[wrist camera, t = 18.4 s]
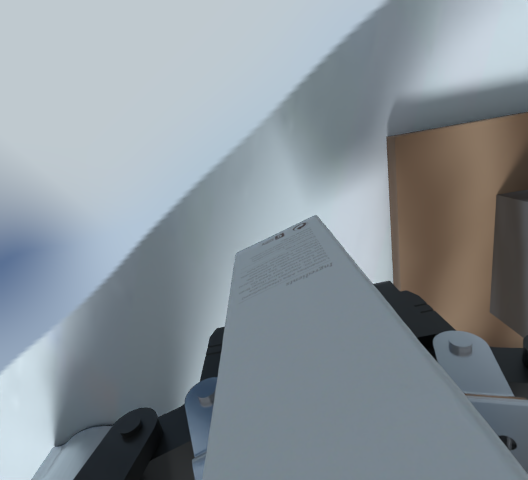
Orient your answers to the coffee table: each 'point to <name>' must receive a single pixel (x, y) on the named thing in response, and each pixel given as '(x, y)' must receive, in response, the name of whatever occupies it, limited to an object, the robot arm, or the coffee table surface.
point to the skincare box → (334, 379)
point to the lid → (464, 224)
